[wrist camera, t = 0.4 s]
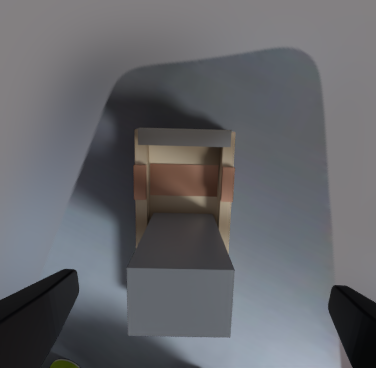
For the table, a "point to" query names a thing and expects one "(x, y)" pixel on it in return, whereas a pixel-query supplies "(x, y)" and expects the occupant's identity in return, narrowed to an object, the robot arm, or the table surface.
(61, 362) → the vape
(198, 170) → the sleeve track
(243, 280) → the table surface
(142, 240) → the grey rectangular box
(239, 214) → the table surface
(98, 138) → the table surface
